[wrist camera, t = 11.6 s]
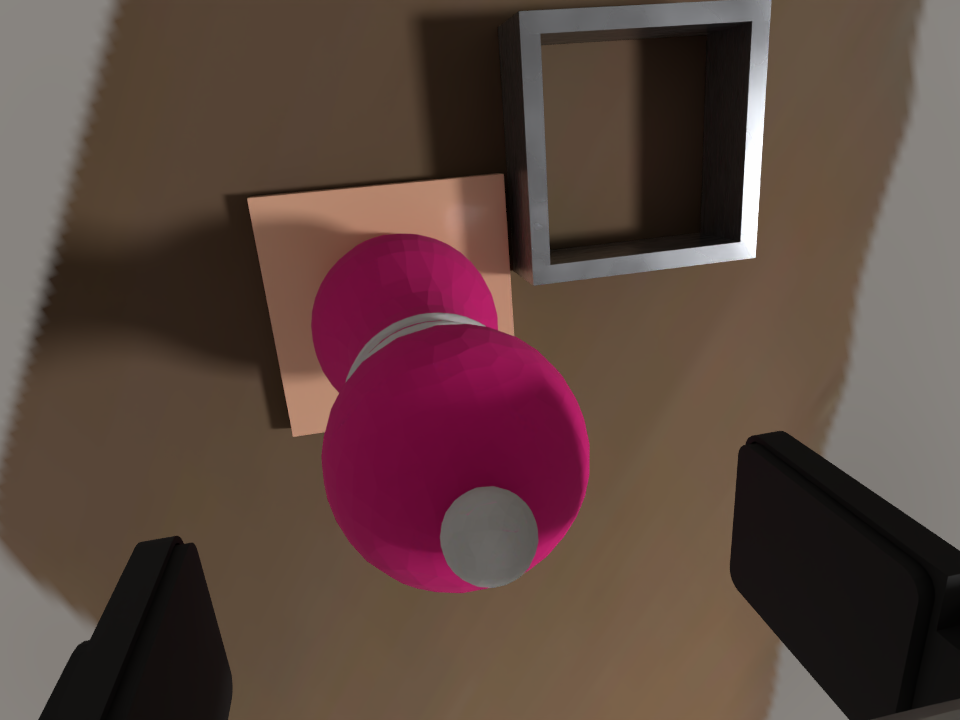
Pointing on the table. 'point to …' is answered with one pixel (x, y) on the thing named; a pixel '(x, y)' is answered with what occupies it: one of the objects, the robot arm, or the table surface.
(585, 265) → the holder sleeve
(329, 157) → the table surface
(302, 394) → the plate
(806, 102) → the table surface
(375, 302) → the pepper mill
